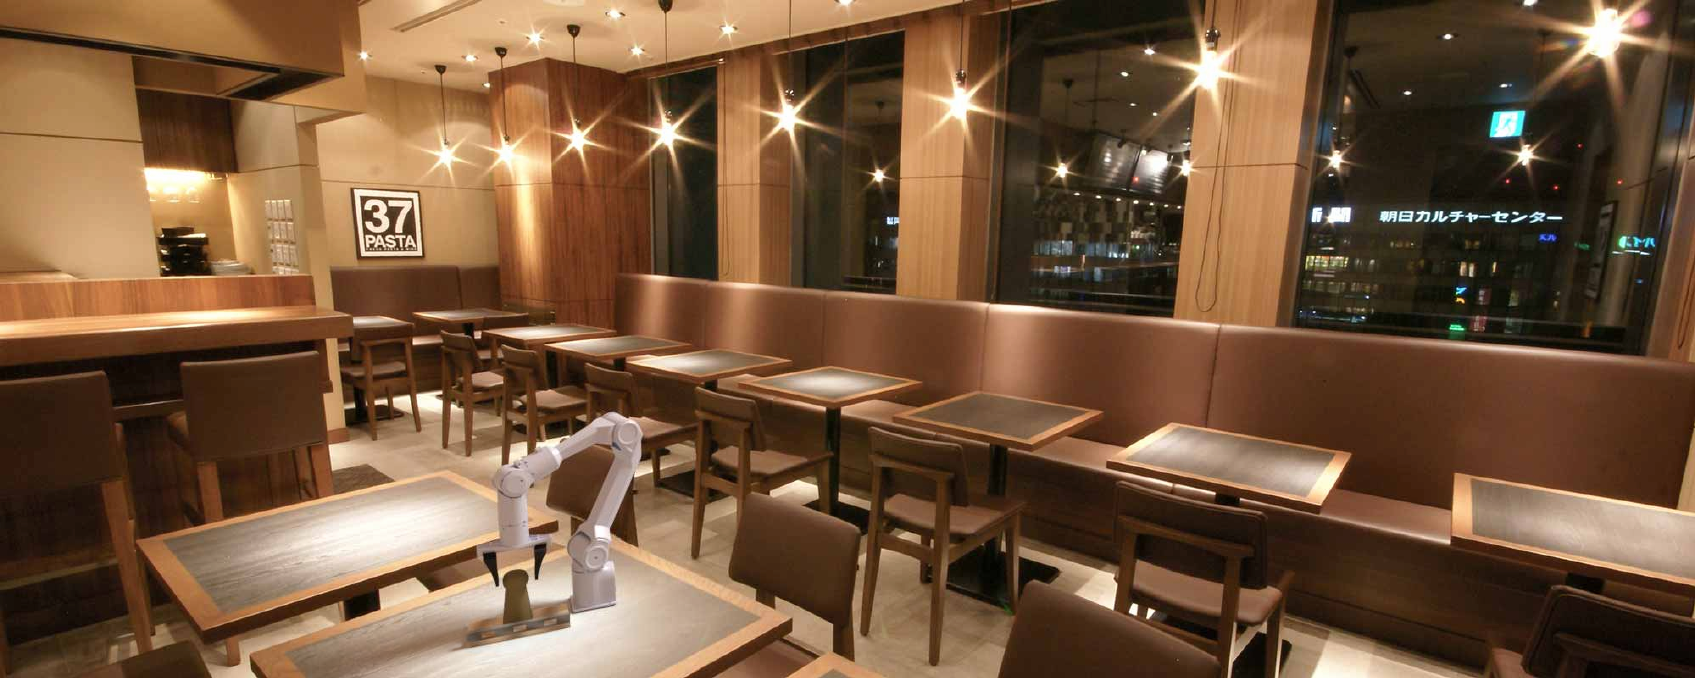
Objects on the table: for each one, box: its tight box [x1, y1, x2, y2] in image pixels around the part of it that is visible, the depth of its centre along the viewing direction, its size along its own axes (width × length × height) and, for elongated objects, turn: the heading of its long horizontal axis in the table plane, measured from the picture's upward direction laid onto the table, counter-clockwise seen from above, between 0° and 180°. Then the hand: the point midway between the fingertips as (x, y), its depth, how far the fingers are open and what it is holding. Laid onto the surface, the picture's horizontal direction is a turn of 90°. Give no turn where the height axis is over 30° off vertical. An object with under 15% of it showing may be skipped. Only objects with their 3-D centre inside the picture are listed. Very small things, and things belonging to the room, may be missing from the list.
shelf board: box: [466, 603, 571, 648], centre depth 161 cm, size 20×9×3 cm, turn 115°
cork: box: [502, 568, 533, 624], centre depth 161 cm, size 6×6×11 cm
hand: (517, 581), depth 160 cm, fingers open, 7 cm apart
